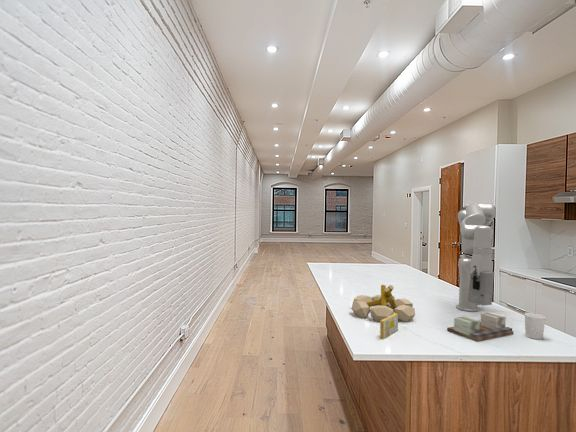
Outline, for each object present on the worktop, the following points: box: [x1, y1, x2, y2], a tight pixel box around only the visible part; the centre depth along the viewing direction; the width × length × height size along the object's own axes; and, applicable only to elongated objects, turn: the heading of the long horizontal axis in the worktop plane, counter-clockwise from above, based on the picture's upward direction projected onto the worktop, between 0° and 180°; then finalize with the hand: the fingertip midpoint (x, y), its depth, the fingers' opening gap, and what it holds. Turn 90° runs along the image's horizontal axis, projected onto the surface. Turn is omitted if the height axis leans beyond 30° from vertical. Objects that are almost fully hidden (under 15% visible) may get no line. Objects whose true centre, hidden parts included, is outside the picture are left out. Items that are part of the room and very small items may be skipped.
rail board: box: [446, 311, 514, 343], centre depth 172 cm, size 26×16×8 cm, turn 116°
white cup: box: [524, 312, 546, 340], centre depth 168 cm, size 8×8×10 cm
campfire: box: [351, 284, 416, 323], centre depth 201 cm, size 35×34×17 cm
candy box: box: [379, 312, 399, 340], centre depth 167 cm, size 16×2×8 cm, turn 141°
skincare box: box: [468, 271, 495, 306], centre depth 172 cm, size 8×7×16 cm
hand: (481, 288), depth 172 cm, fingers closed on skincare box, 6 cm apart
